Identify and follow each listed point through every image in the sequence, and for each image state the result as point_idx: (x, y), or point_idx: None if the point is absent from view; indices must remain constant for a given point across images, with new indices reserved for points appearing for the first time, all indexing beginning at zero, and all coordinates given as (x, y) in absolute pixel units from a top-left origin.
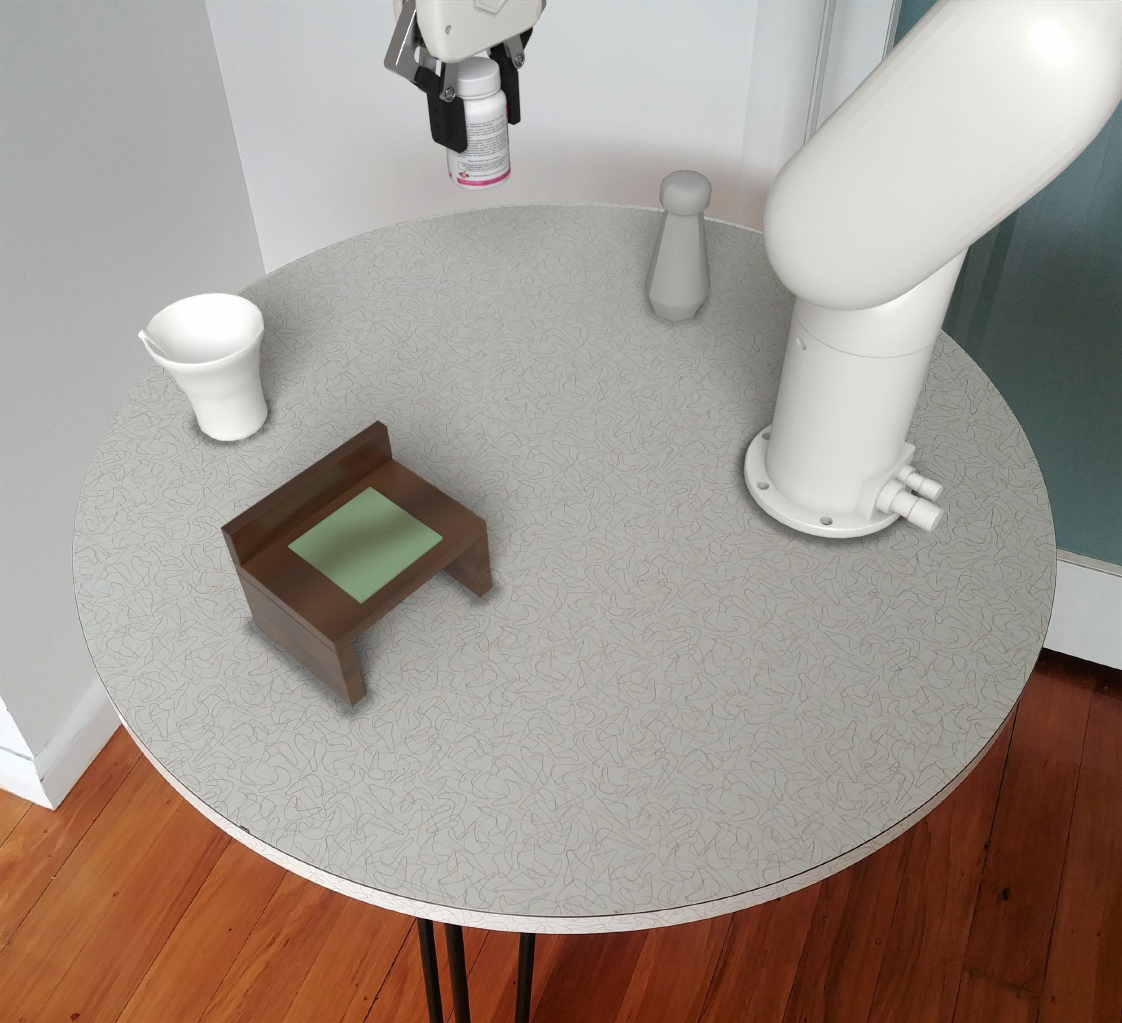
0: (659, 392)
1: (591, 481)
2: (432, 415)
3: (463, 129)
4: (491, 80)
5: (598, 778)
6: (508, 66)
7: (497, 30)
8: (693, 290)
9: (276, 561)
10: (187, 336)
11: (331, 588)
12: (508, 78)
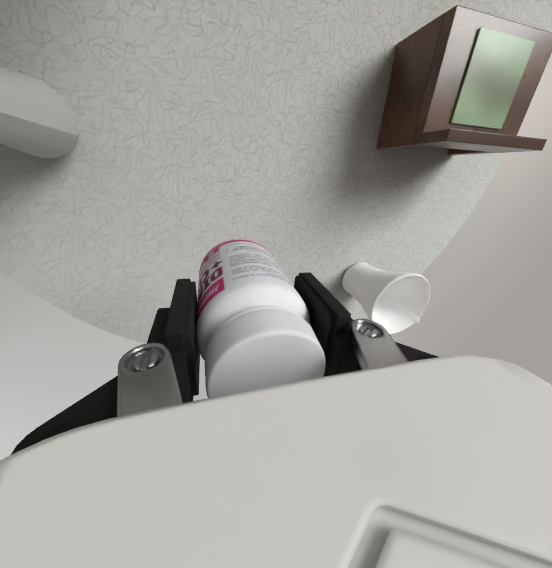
0: (161, 53)
1: (286, 41)
2: (299, 200)
3: (316, 287)
4: (268, 325)
5: None
6: (172, 360)
7: (337, 426)
8: (26, 76)
9: (509, 126)
10: (382, 316)
11: (523, 74)
12: (191, 333)
